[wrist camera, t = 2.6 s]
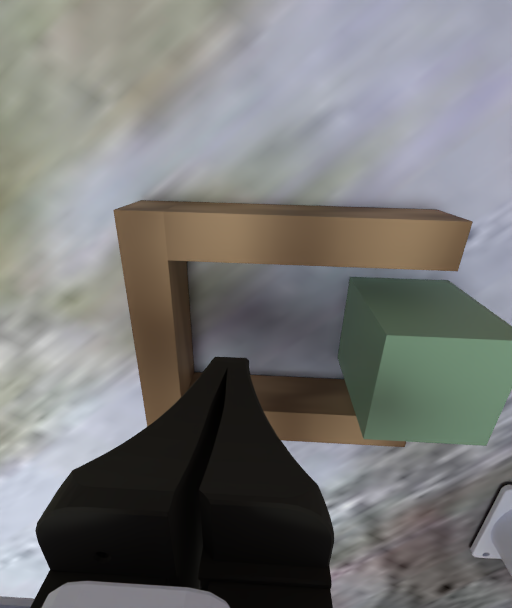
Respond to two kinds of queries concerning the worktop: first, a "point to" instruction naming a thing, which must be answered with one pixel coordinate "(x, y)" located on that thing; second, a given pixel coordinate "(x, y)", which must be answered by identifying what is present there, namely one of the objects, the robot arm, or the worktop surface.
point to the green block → (423, 361)
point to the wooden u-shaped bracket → (263, 250)
